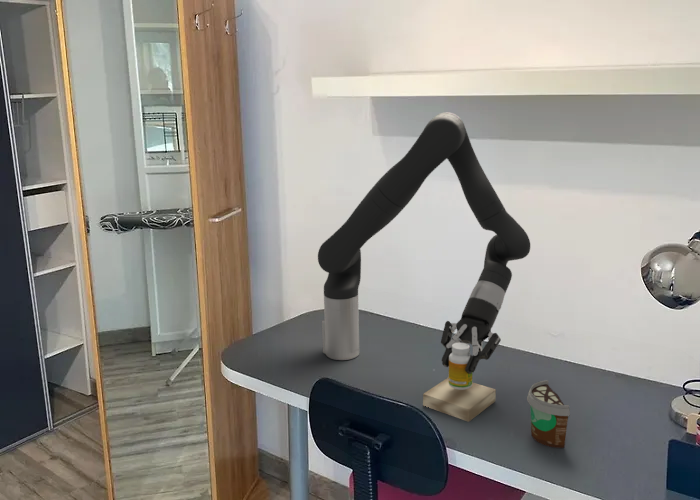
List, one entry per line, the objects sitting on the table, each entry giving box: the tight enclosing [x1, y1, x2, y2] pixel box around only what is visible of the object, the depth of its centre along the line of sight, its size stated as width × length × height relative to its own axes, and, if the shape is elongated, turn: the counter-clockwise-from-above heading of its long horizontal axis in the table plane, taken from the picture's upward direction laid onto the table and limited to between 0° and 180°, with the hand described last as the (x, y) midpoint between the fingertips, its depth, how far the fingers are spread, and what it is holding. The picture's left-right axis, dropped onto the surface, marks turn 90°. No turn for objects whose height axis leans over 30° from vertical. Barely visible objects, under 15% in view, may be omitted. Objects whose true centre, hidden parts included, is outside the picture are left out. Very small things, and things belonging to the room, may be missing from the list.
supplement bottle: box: [448, 343, 473, 390], centre depth 152 cm, size 5×5×10 cm
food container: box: [526, 379, 571, 449], centre depth 139 cm, size 12×6×10 cm, turn 5°
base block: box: [422, 376, 497, 423], centre depth 154 cm, size 12×12×3 cm
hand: (456, 368), depth 151 cm, fingers closed on supplement bottle, 5 cm apart
